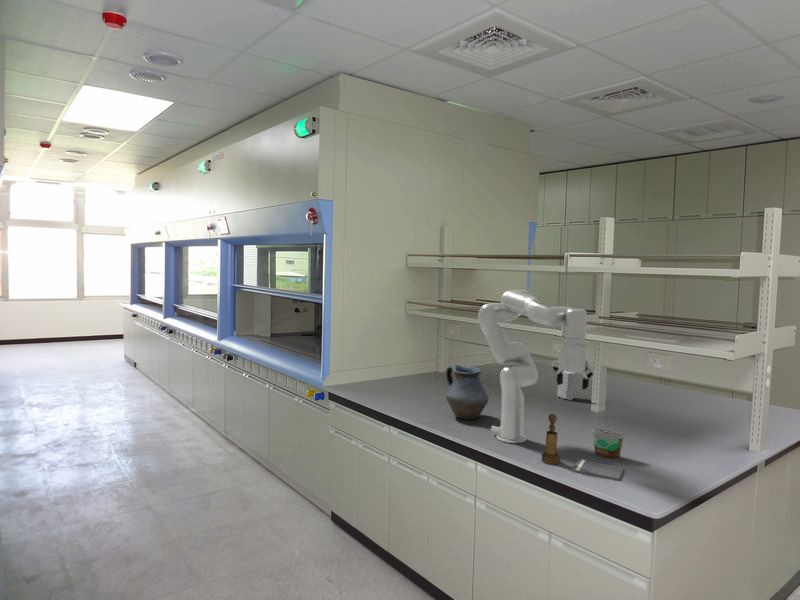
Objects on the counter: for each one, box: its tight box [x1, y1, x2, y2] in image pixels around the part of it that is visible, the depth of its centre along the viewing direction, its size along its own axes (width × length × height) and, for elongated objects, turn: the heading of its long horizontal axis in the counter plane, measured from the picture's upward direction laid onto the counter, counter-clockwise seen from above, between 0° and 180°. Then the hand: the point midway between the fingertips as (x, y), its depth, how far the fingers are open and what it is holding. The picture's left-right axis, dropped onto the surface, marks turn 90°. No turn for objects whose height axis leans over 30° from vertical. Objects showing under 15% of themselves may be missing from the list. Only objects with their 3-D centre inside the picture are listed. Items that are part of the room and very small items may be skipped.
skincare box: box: [556, 371, 578, 399], centre depth 305 cm, size 8×7×16 cm
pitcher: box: [445, 363, 489, 421], centre depth 262 cm, size 21×22×25 cm
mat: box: [571, 458, 625, 481], centre depth 196 cm, size 16×12×1 cm
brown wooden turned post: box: [541, 413, 561, 465], centre depth 203 cm, size 7×6×18 cm
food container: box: [591, 427, 626, 459], centre depth 211 cm, size 12×6×10 cm, turn 56°
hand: (572, 386), depth 203 cm, fingers open, 9 cm apart
